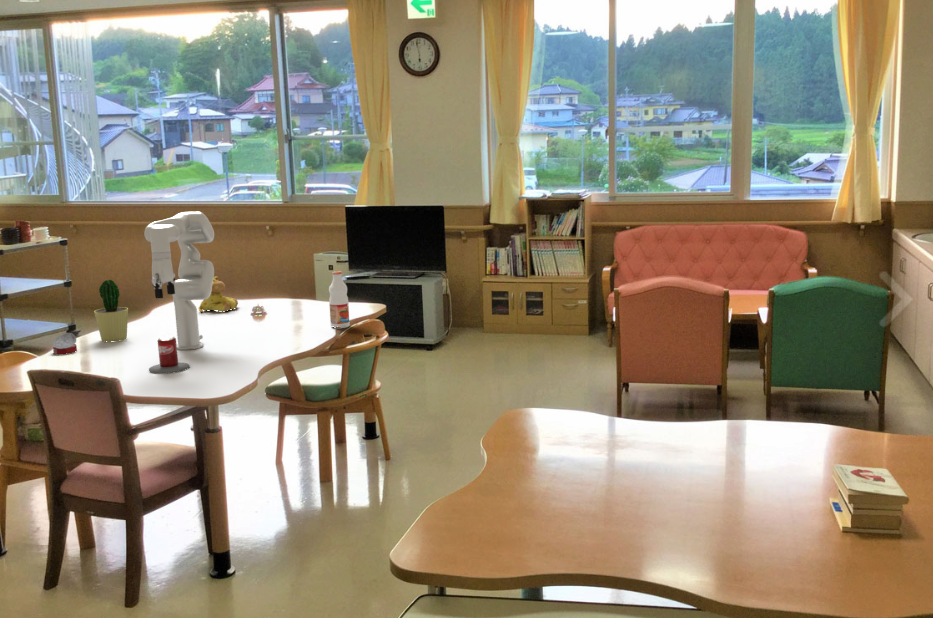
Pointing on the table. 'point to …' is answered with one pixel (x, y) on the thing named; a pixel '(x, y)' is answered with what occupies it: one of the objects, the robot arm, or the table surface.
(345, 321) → the fruit juice
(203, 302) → the giraffe plush
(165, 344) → the soda can
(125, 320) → the potted cactus
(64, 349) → the snow globe
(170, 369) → the charcoal mat
